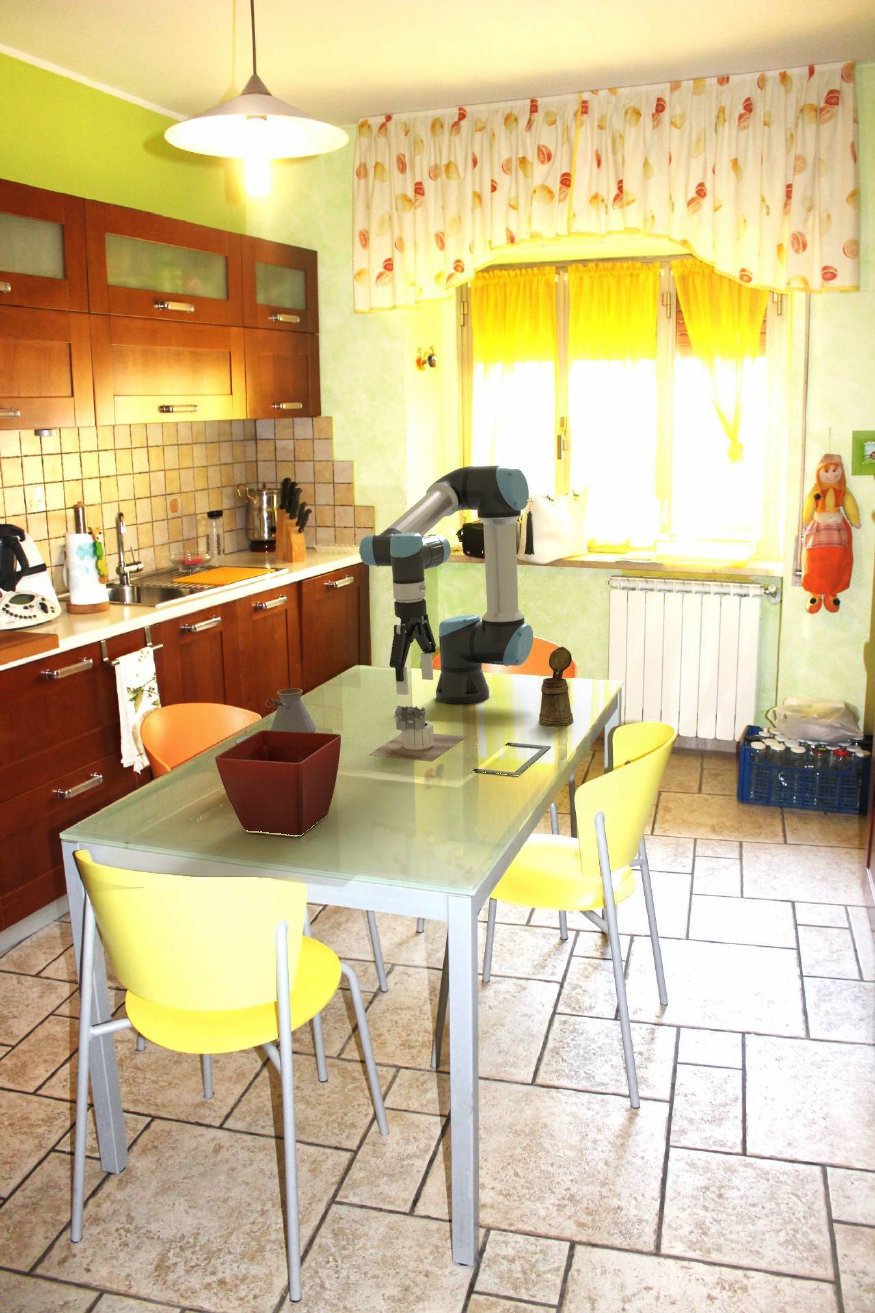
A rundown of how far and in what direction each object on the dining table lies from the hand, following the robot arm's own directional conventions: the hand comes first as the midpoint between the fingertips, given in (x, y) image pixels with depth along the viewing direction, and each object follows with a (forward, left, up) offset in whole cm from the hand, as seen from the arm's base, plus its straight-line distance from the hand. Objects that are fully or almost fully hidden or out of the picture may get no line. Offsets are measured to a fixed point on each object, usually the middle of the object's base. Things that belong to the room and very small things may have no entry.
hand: (415, 686), depth 265 cm
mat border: (0, +20, -16) cm, 26 cm away
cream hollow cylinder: (0, 0, -15) cm, 15 cm away
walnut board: (0, 0, -16) cm, 16 cm away
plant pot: (+52, -5, -16) cm, 55 cm away
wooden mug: (-34, +24, -16) cm, 45 cm away
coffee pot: (+6, -34, -16) cm, 38 cm away
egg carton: (+1, -2, -10) cm, 10 cm away
